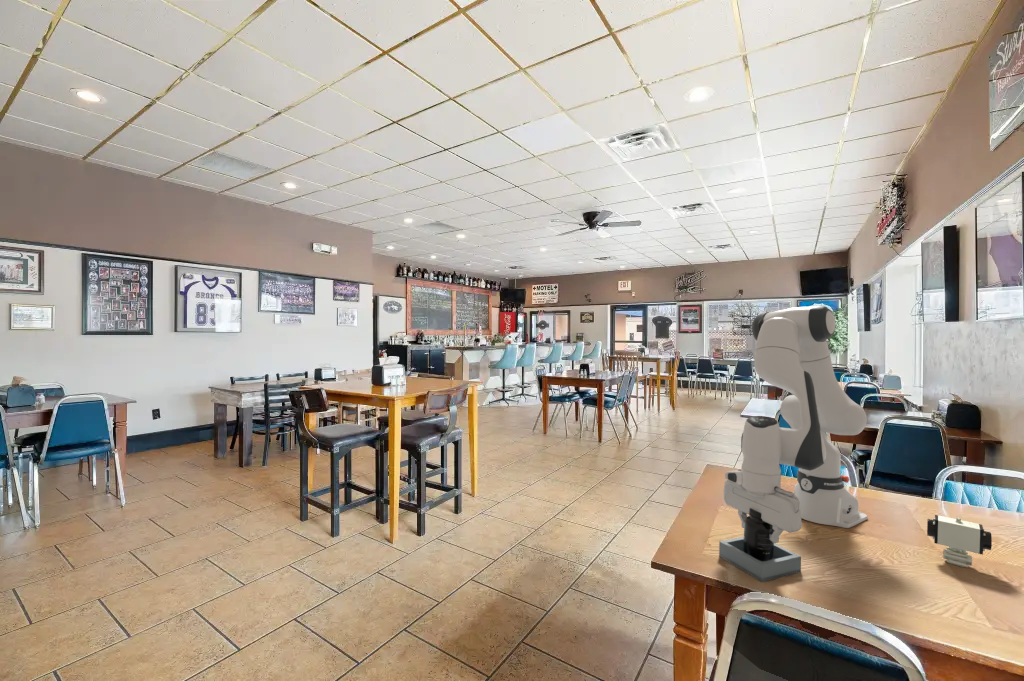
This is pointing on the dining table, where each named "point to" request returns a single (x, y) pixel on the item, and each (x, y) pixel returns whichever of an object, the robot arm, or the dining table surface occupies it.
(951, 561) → the pneumatic valve
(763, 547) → the supplement bottle
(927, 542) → the dining table surface
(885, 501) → the dining table surface
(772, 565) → the tray
